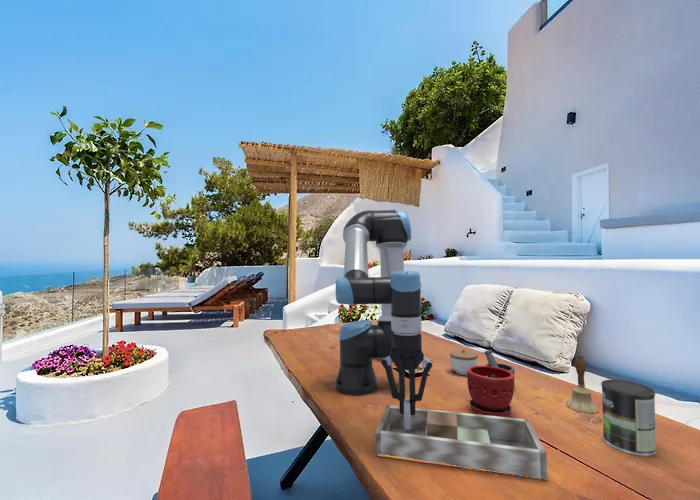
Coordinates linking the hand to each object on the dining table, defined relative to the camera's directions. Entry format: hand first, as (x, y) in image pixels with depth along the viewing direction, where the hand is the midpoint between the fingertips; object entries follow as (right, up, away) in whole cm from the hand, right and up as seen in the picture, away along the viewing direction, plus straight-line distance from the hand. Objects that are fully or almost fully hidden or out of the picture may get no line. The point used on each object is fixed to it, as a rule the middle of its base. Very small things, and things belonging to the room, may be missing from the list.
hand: (407, 427), depth 87 cm
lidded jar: (+31, -5, +52) cm, 60 cm away
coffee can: (+54, -3, -2) cm, 54 cm away
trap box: (+11, -4, -3) cm, 12 cm away
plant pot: (+28, -4, +17) cm, 33 cm away
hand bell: (+56, -4, +19) cm, 59 cm away
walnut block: (+8, -1, -2) cm, 8 cm away
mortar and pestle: (+39, -5, +37) cm, 54 cm away
